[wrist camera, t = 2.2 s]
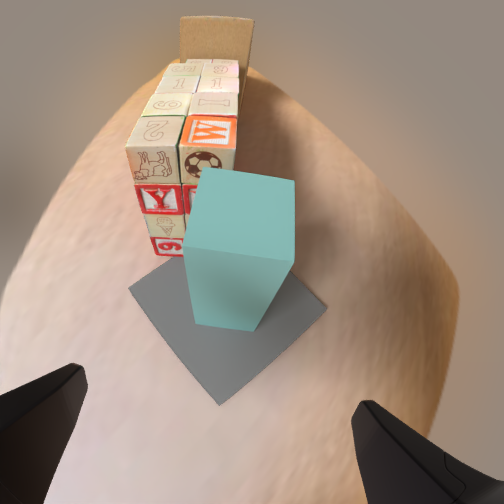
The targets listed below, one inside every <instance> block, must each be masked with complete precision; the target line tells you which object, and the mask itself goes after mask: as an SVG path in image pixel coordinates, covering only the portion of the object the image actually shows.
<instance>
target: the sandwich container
mask: <svg viewBox="0 0 504 504" xmlns="http://www.w3.org/2000/svg"><path fill="white" fill-rule="evenodd" d="M253 28H254V20H253V19H246V18H237V17H225V16H188V17H187V16H186V17H181V19H180V63H186V60H187V59H224V60H238V64H239V98H238V117H239V115H240V110H241V104H242V99H243V94H244V89H245V83H246V77H247V71H248V65H249V58H250V51H251V43H252V35H253Z"/></svg>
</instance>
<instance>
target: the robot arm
mask: <svg viewBox="0 0 504 504" xmlns="http://www.w3.org/2000/svg"><path fill="white" fill-rule="evenodd" d="M87 389H88V384H87V379H86V375H85V370H84V368H83V366H81V365H78V364H75V363H70V364H68V365H66V366H64V367H61V368H59V369H57V370H55V371H53V372H51V373H49V374H46V375H44V376H42V377H40V378H38V379H36V380H33V381H31V382H29V383H27V384H25V385H22V386H20V387H18V388H16V389H14V390H11V391H9V392H7V393H5V394H2V395H0V504H43V503H44V500H45V498H46V495H47V492H48V489H49V487H50V484H51V482H52V479H53V477H54V474H55V472H56V469H57V467H58V464H59V462H60V459H61V457H62V455H63V452H64V450H65V448H66V446H67V443H68V441H69V439H70V437H71V434H72V432H73V430H74V428H75V425H76V422H77V419H78V416H79V413H80V410H81V407H82V404H83V401H84V398H85V395H86V393H87ZM351 424H352V430H353V437H354V444H355V451H356V457H357V462H358V466H359V470H360V474H361V477H362V481H363V485H364V489H365V493H366V497H367V501H368V504H504V481H500V480H496V479H494V478H492V477H490V476H487V475H485V474H483V473H481V472H479V471H477V470H475V469H473V468H471V467H470V466H468V465H466V464H464V463H462V462H460V461H459V460H457V459H456V458H454V457H453V456H451V455H450V454H448V453H446V452H444V451H443V450H442V449H441V448H439V447H438V446H436V445H435V444H433V443H432V442H430V441H429V440H427V439H426V438H425V437H423V436H422V435H420V434H419V433H417V432H416V431H415V430H413V429H412V428H410V427H409V426H408V425H406V424H405V423H403V422H402V421H401V420H399V419H398V418H396V417H395V416H394V415H392V414H391V413H390V412H388V411H387V410H386V409H384V408H383V407H381V406H380V405H379V404H377V403H376V402H375V401H373V400H363V401H361V402H360V403H359V405H358V407H357V409H356V410H355V412H354V414H353V416H352V420H351Z"/></svg>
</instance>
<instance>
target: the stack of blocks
mask: <svg viewBox="0 0 504 504" xmlns="http://www.w3.org/2000/svg"><path fill="white" fill-rule="evenodd" d="M238 98H239V64H238V60H224V59H187V60H186V63H173V64H170V65H169V66H168V68H167V70H166V71H165V73H164V75H163V78H162V79H161V81H160V83H159V85H158V87H157V88H156V90H155V93H154V94H153V95H152V96H151V98H150V99H149V101H148V103H147V105H146V107H145V109H144V111H143V113H142V114H141V118H139V119H138V121H137V123H136V124H135V126H134V128H133V130H132V132H131V134H130V136H129V138H128V140H127V142H126V146H125V148H126V153H127V157H128V161H129V165H130V169H131V172H132V176H133V179H134V181H135V184H134V186H135V190H136V194H137V198H138V201H139V205H140V207H141V211H142V213H143V215H144V218H145V221H146V224H147V228H148V231H149V234H150V239H151V242H152V245H153V247H154V251H155V254H156V255H159V256H175V257H184V256H183V249H182V244H183V239H184V235H185V231H186V227H187V224H188V220H189V216H190V212H191V208H192V204H193V201H194V197H195V193H196V190H197V186H198V183H199V179H200V176H201V172H202V169H203V167H210V168H218V169H225V170H232V171H233V169H234V161H235V153H236V133H237V120H238Z"/></svg>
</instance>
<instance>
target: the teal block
mask: <svg viewBox="0 0 504 504" xmlns="http://www.w3.org/2000/svg"><path fill="white" fill-rule="evenodd" d="M182 249H183V256H184V262H185V268H186V274H187V280H188V286H189V292H190V298H191V303H192V308H193V314H194V319H195V324H200V325H207V326H213V327H221V328H228V329H236V330H244V331H252V332H254V330H255V329H256V327H257V325H258V324H259V322H260V320H261V319H262V317H263V315H264V313H265V312H266V310H267V308H268V307H269V305H270V303H271V302H272V300H273V298H274V296H275V295H276V293H277V291H278V290H279V288H280V286H281V284H282V283H283V281H284V279H285V277H286V276H287V274H288V272H289V270H290V269H291V267H292V265H293V263H294V259H295V181H294V180H288V179H283V178H277V177H271V176H265V175H259V174H253V173H246V172H239V171H232V170H225V169H218V168H210V167H203V169H202V172H201V176H200V179H199V183H198V186H197V190H196V193H195V197H194V201H193V204H192V208H191V212H190V216H189V220H188V224H187V227H186V231H185V235H184V239H183V244H182Z"/></svg>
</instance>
